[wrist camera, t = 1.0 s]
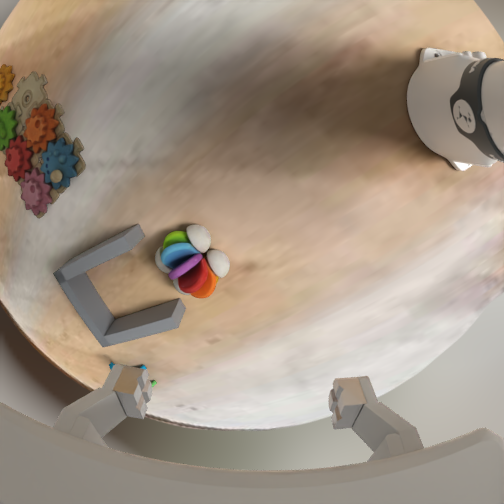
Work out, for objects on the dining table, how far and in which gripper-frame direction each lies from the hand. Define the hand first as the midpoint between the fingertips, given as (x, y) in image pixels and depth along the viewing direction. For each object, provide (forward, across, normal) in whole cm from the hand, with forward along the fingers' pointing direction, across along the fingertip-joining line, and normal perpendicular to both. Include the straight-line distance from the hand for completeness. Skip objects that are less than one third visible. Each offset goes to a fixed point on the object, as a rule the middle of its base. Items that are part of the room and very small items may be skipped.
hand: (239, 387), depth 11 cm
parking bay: (+29, +20, +12) cm, 37 cm away
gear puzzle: (+30, +38, -15) cm, 51 cm away
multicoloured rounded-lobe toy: (+29, +8, +7) cm, 31 cm away
